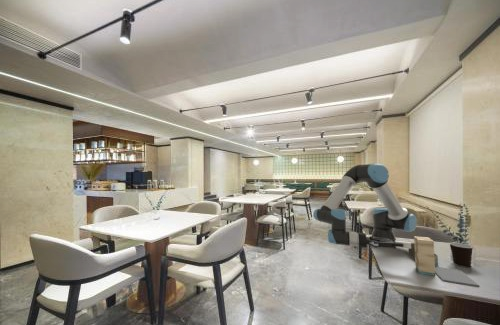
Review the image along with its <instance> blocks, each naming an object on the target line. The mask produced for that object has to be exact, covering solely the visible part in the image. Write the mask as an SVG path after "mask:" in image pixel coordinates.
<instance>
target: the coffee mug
mask: <svg viewBox="0 0 500 325" xmlns="http://www.w3.org/2000/svg"><path fill="white" fill-rule="evenodd" d="M449 247H450V251H451V255H452V256H451V258H452V260H453V264H454V265H456V266H459V267H463V268H471V266H472V256H473V249H474V248H473V246H472V245H469V244H465V243H461V242H449Z"/></svg>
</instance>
